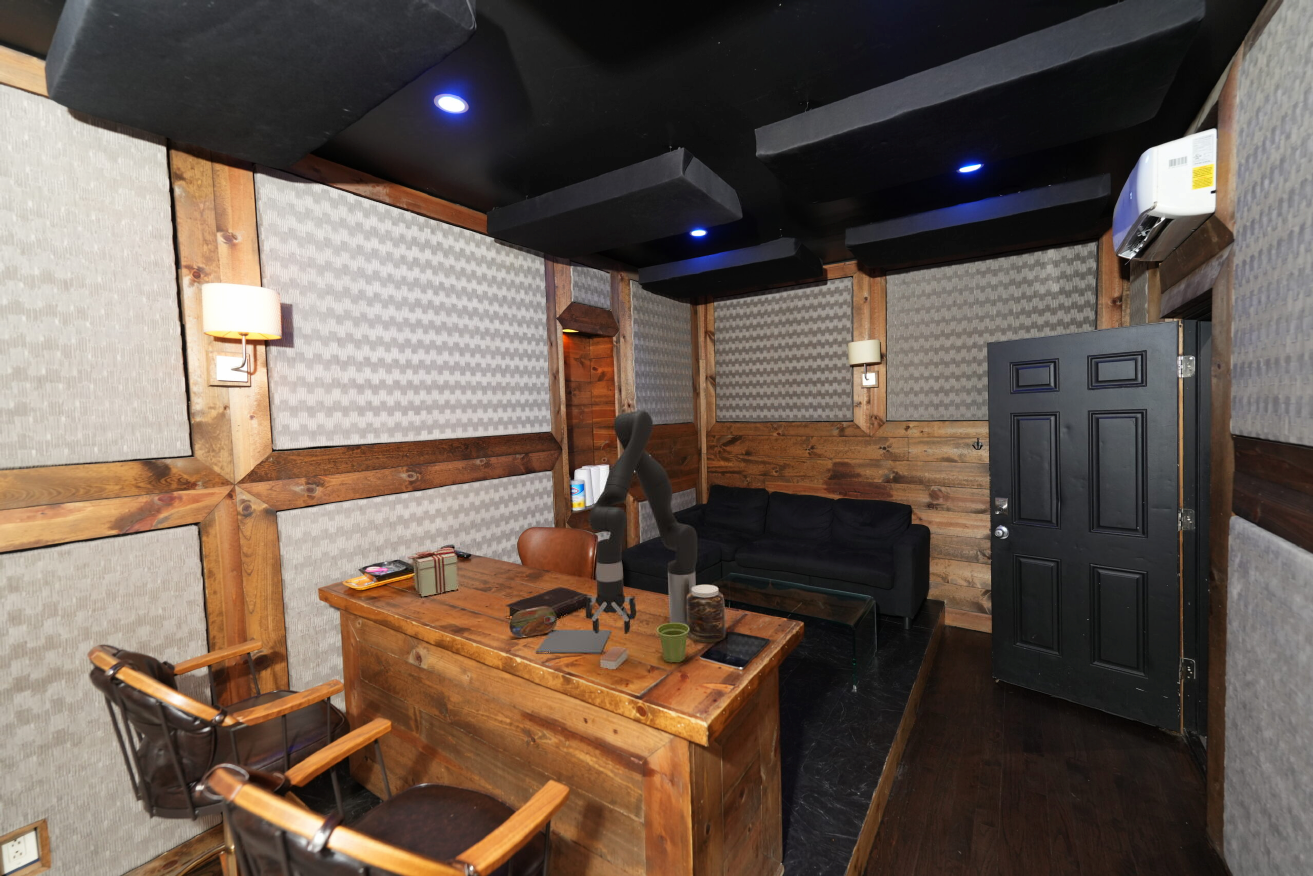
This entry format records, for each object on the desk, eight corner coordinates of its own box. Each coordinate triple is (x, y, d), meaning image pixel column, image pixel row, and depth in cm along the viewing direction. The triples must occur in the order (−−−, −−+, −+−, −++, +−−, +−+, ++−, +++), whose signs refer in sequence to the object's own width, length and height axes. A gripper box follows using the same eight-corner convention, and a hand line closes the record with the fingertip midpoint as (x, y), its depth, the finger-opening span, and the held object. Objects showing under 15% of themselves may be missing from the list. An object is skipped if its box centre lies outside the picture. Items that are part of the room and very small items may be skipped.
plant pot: (651, 659, 153) (650, 629, 152) (673, 648, 159) (672, 619, 159) (674, 669, 146) (673, 638, 146) (697, 657, 153) (696, 628, 152)
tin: (510, 640, 169) (508, 614, 169) (510, 637, 172) (508, 611, 172) (558, 631, 173) (555, 606, 173) (557, 627, 176) (554, 603, 176)
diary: (591, 607, 198) (590, 594, 198) (538, 630, 178) (537, 616, 178) (557, 597, 210) (557, 585, 209) (504, 618, 190) (504, 604, 190)
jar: (714, 625, 175) (713, 580, 174) (732, 638, 164) (730, 591, 163) (682, 632, 171) (680, 586, 170) (697, 646, 160) (695, 597, 159)
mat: (611, 631, 173) (611, 630, 173) (600, 654, 157) (600, 652, 157) (552, 631, 175) (552, 629, 175) (535, 653, 159) (535, 651, 159)
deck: (627, 658, 154) (626, 648, 154) (615, 671, 147) (614, 660, 147) (613, 656, 156) (612, 646, 156) (600, 668, 149) (600, 658, 149)
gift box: (446, 580, 237) (444, 542, 236) (461, 589, 223) (459, 549, 222) (406, 589, 226) (403, 549, 225) (419, 600, 212) (416, 557, 211)
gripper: (636, 572, 153) (638, 628, 154) (588, 572, 155) (590, 627, 156) (632, 580, 146) (634, 638, 147) (581, 580, 148) (583, 637, 148)
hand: (611, 632), depth 151 cm, fingers open, 8 cm apart
